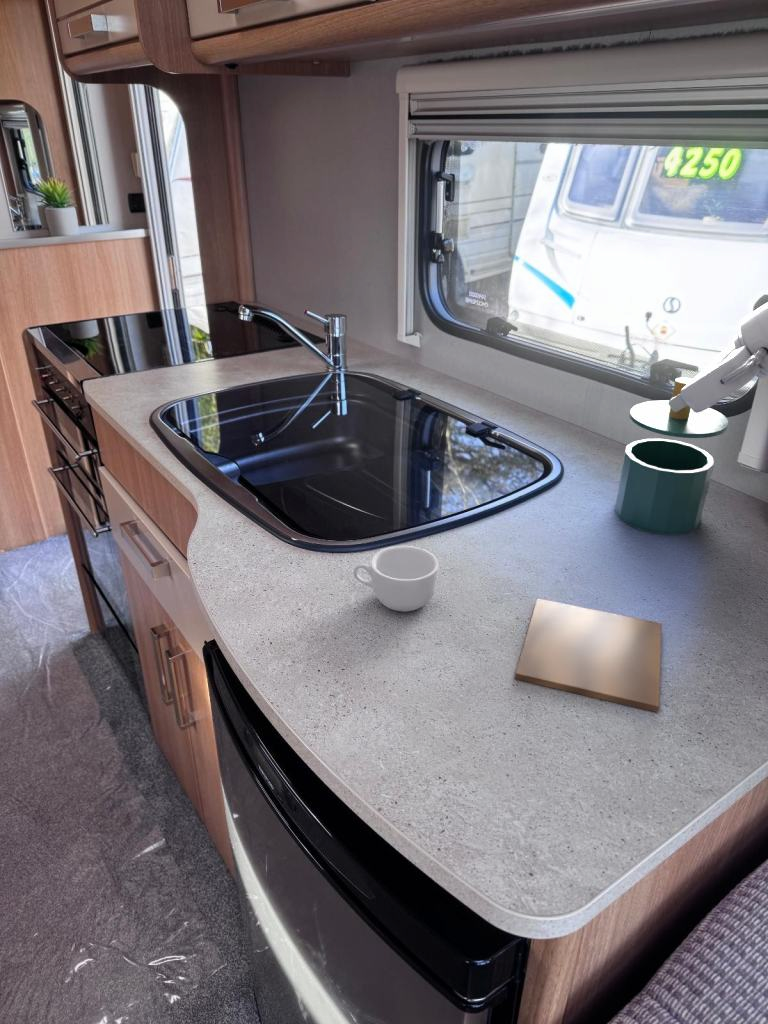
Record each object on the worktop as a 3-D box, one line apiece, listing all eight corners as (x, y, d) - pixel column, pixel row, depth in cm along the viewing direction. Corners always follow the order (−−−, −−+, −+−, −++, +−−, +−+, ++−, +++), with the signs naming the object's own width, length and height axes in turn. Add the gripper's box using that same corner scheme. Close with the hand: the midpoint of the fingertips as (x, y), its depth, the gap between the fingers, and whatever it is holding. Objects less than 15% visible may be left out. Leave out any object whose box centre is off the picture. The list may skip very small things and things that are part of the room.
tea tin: (697, 503, 108) (712, 445, 104) (700, 540, 99) (715, 478, 94) (617, 491, 112) (627, 434, 107) (612, 526, 102) (623, 465, 97)
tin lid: (724, 414, 102) (734, 371, 99) (730, 447, 91) (741, 401, 88) (631, 404, 105) (638, 362, 102) (626, 435, 95) (633, 390, 92)
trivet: (660, 628, 82) (661, 622, 81) (658, 712, 70) (659, 706, 70) (536, 603, 86) (536, 597, 85) (514, 679, 74) (515, 673, 74)
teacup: (440, 586, 89) (442, 549, 86) (431, 624, 82) (433, 585, 79) (361, 576, 90) (361, 539, 88) (346, 613, 84) (345, 574, 81)
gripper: (772, 384, 80) (667, 446, 90) (803, 343, 95) (709, 400, 104) (739, 338, 80) (637, 405, 90) (775, 304, 95) (684, 364, 104)
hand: (676, 402), depth 97 cm, fingers closed on tin lid, 2 cm apart
